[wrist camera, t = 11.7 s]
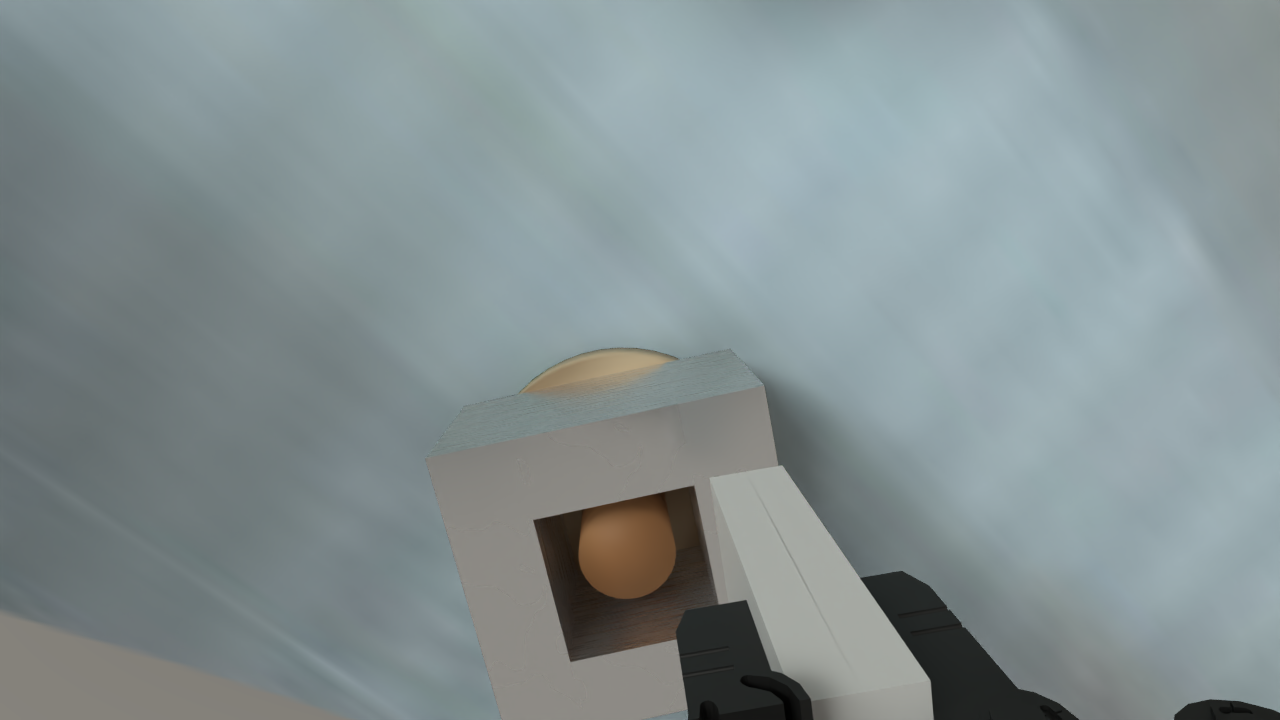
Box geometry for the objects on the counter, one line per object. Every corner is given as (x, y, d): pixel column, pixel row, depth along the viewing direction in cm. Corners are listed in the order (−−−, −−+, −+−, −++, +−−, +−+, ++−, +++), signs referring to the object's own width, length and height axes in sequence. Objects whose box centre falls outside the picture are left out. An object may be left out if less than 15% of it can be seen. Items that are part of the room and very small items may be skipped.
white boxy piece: (464, 405, 23) (425, 458, 18) (730, 348, 23) (764, 385, 18) (529, 641, 25) (510, 748, 20) (774, 588, 25) (816, 682, 20)
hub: (431, 514, 25) (383, 596, 20) (588, 291, 24) (583, 314, 18) (653, 650, 27) (664, 761, 21) (812, 449, 25) (869, 513, 20)
